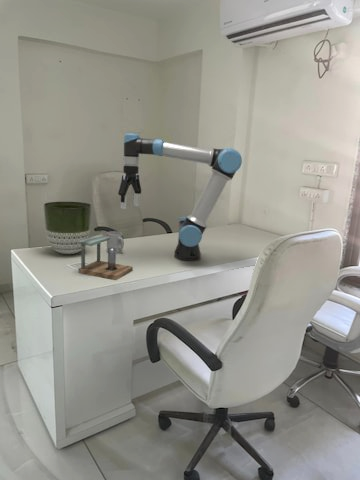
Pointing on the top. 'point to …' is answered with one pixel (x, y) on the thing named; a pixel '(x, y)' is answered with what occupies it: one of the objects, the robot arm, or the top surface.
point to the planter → (67, 225)
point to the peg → (111, 258)
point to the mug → (115, 241)
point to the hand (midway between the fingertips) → (129, 207)
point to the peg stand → (99, 266)
